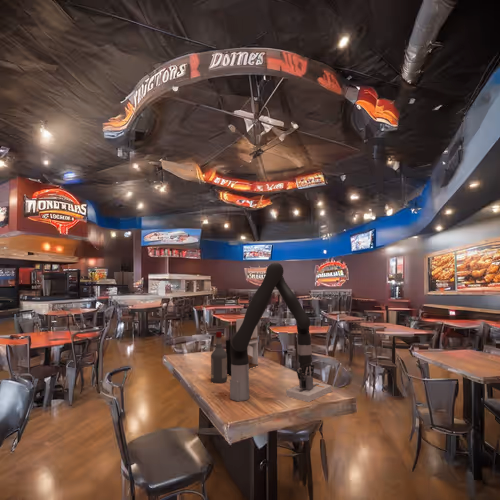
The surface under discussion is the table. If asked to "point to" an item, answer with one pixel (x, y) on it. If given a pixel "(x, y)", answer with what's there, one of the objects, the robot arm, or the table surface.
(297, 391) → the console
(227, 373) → the portable radio
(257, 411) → the table surface
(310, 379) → the fader knob
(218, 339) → the liquor
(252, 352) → the display case
